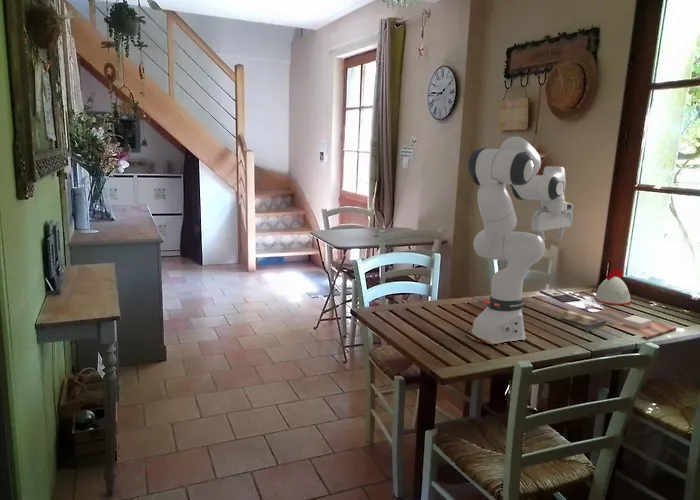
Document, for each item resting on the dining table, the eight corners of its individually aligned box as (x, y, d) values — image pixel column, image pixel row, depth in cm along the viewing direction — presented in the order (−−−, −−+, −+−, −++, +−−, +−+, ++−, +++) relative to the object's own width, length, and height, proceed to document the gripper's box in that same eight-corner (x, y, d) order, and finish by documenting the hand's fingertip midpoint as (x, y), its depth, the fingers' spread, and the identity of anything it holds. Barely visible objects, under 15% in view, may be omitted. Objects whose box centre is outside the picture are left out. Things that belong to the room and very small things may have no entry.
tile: (640, 329, 195) (640, 323, 194) (622, 323, 201) (623, 318, 200) (651, 325, 198) (652, 320, 198) (633, 320, 204) (634, 315, 204)
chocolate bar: (563, 301, 233) (539, 291, 250) (563, 303, 233) (539, 292, 250) (580, 299, 235) (555, 289, 252) (580, 301, 235) (555, 291, 252)
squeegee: (557, 322, 208) (557, 312, 207) (574, 318, 212) (574, 308, 212) (588, 332, 196) (588, 322, 195) (605, 327, 200) (606, 317, 200)
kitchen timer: (637, 305, 226) (640, 271, 223) (610, 308, 223) (612, 274, 220) (614, 297, 239) (616, 265, 236) (588, 299, 236) (590, 267, 233)
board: (647, 339, 187) (647, 336, 187) (579, 318, 211) (579, 316, 211) (676, 330, 196) (676, 327, 196) (608, 310, 220) (608, 308, 220)
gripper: (540, 209, 203) (539, 243, 206) (576, 204, 213) (574, 238, 215) (528, 207, 208) (526, 241, 211) (563, 203, 218) (561, 236, 221)
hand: (551, 239), depth 213 cm, fingers open, 8 cm apart
